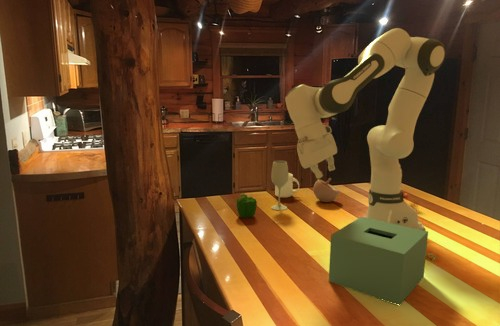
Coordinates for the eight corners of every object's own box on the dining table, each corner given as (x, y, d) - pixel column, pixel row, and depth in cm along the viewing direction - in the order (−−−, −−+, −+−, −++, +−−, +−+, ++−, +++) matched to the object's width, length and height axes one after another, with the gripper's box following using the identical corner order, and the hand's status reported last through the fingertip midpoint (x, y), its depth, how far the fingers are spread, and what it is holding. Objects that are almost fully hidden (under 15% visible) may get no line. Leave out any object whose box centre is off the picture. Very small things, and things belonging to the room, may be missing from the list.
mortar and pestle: (341, 205, 185) (342, 181, 183) (314, 205, 185) (315, 181, 183) (335, 198, 197) (337, 175, 194) (311, 197, 197) (312, 175, 194)
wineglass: (290, 207, 182) (291, 161, 178) (282, 211, 176) (283, 164, 171) (275, 204, 186) (276, 159, 182) (267, 208, 180) (268, 162, 175)
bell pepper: (257, 213, 172) (257, 191, 170) (255, 220, 164) (256, 196, 162) (237, 213, 173) (237, 190, 171) (235, 219, 165) (235, 195, 163)
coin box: (328, 281, 114) (331, 234, 111) (358, 258, 129) (361, 216, 127) (399, 306, 102) (404, 254, 99) (423, 277, 117) (428, 231, 114)
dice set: (436, 263, 128) (436, 257, 127) (418, 260, 130) (419, 254, 130) (436, 257, 132) (437, 251, 132) (420, 254, 134) (420, 248, 134)
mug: (297, 199, 195) (298, 177, 192) (273, 197, 198) (273, 175, 196) (300, 194, 203) (301, 173, 201) (277, 192, 206) (277, 172, 204)
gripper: (304, 137, 121) (320, 180, 122) (332, 126, 137) (346, 164, 138) (287, 143, 125) (303, 185, 126) (317, 132, 141) (331, 168, 142)
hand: (326, 173), depth 132 cm, fingers open, 8 cm apart
